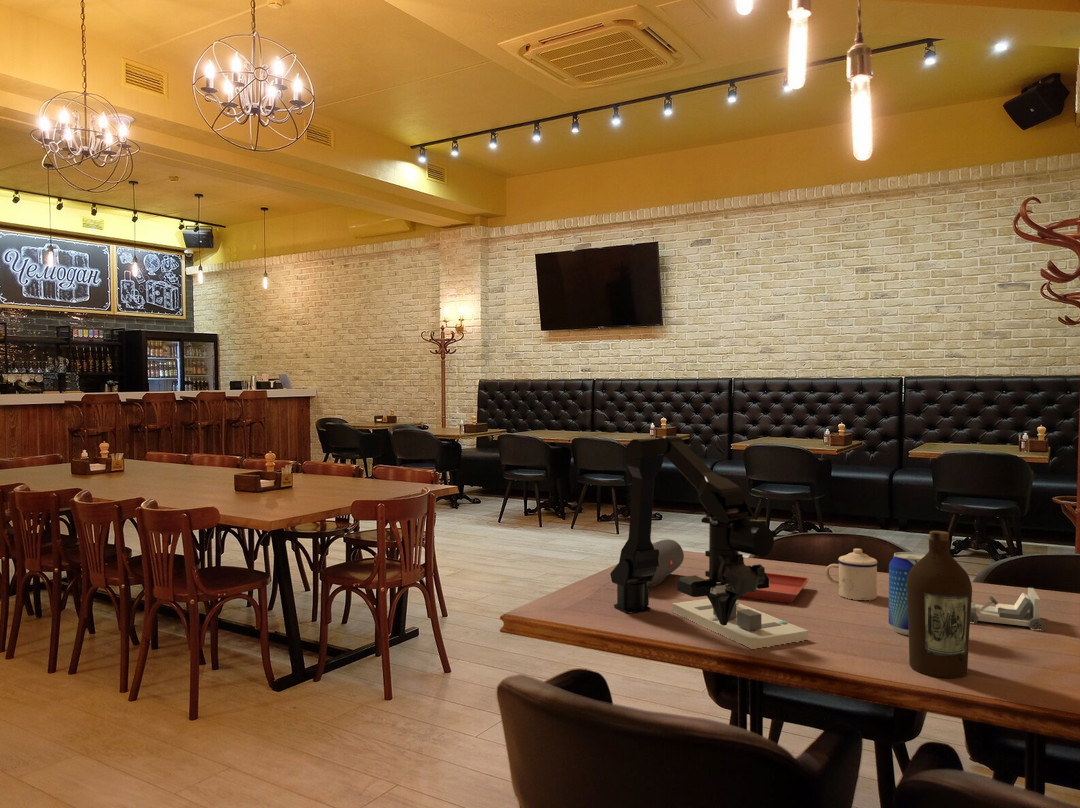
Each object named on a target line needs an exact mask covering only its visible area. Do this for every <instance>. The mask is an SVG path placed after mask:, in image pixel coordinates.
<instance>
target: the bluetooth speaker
mask: <svg viewBox="0 0 1080 808" xmlns="http://www.w3.org/2000/svg"><path fill="white" fill-rule="evenodd" d="M652 544H653V546H654V548H655V549H658V550H659V557H658V564H659V566H658V567H657V569H656V572H655V574H654V577H653V581H652V582H647V587H648V588H652V586H653V587H656V586H657V584H658V585H659V584H661V583H663V582H664V581H665V580H666V578H667V576H669V575H670V574H672V573H673V572H674V571H676V570H677V569H678V568H680V566H681V565H682V563H684V562H683V561H684V558H685V557H684V555H685V554H684V551H683V548H682V547H681V544H679V542H678V541H676V540H674V539H662V540H659V541H656V542H652ZM662 581H663V582H662ZM655 585H656V586H655Z"/></svg>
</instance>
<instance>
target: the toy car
mask: <svg viewBox="0 0 1080 808" xmlns="http://www.w3.org/2000/svg"><path fill="white" fill-rule="evenodd" d="M988 599H989V601H988V602H987V603H986V604H984V605H982V604H975V601H973V600H972V601H971V614H970V622H974V623H976V624H977V623H978V621H979V622H986V623H996V624H1004V625H1005V624H1006V625H1014V626H1022V627H1029V629H1030V630H1031V628H1032V629H1035V628H1036V629H1041V630H1044V631H1045V630H1046V628H1047V627H1046V626H1047V625H1046V623H1045V621H1044V620H1043V619H1041V618H1040V616H1041V613H1040V612H1041V599H1040V597H1039V595H1038V593H1037V592H1036V590H1035V589H1034V587H1027V594H1026V593H1024V592H1022V593H1021V594H1020V596H1019V597H1018V599H1017V600H1016V602H1015V603H1014V604H1006V603H999V602H998V601H997V600H996V599H995V598H994V597H993V596H992V595H990V596H989V597H988ZM991 604H993V605H992V606H991ZM994 605H995V606H994Z"/></svg>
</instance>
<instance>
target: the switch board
mask: <svg viewBox="0 0 1080 808" xmlns="http://www.w3.org/2000/svg"><path fill="white" fill-rule="evenodd" d="M671 605H672V608H671V612H672V613H673V612H674V614H675V613H676V614H675V615H677V614H678V615H677V616H680V617H681V618H684V617H685V618H684V619H686V618H687V619H686V620H688V619H689V621H690V620H691V622H692V621H693V622H692V623H694V622H695V623H694V624H696V623H697V624H696V625H699V626H701V627H703V628H705V629H707V628H708V629H707V630H709V629H710V631H711V630H712V631H711V632H713V631H714V633H715V632H716V634H718V633H719V634H718V635H720V634H721V635H720V636H722V635H723V636H722V637H724V636H725V637H724V638H726V637H727V638H726V639H728V638H730V639H731V641H732V640H734V641H736V642H735V643H737V642H738V643H737V644H739V643H741V644H743V645H745V646H747V647H749V648H752V649H755V648H761V649H763V648H762V647H767V648H769V647H768V646H773V645H779V644H784V643H790V644H792V643H791V642H796V643H798V642H797V641H802V642H804V641H803V640H808V641H809V630H808V629H805V628H802V627H800V626H798V625H795V624H792V623H789V622H788V621H785V620H782V619H780V618H777V617H776V616H775V617H774V616H772V615H770V614H767V613H764V612H763V611H759V610H758V609H755V608H752V607H749V606H747V605H745V604H742V603H739V602H737V601H736V618H734V619H729V620H728V623H727V625H724V626H723V625H721V624H720V622H719V620H718V618H717V616H715V615H713V606H712V604H711V602H710V600H709V599H708V598H701V599H694V600H689V601H680V602H673V603H672V604H671ZM745 609H750V610H752V611H755V612H757V613H760V614H761V629H757V630H751V631H749V630H747V629H744V628H742V627H740V626H737V611H738V610H745ZM730 639H729V640H730ZM734 641H733V642H734ZM741 644H740V645H741ZM743 645H742V646H743ZM784 645H785V644H784ZM745 646H744V647H745ZM779 646H780V645H779ZM747 647H746V648H747ZM773 647H774V646H773ZM749 648H748V649H749ZM755 650H756V649H755Z"/></svg>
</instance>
